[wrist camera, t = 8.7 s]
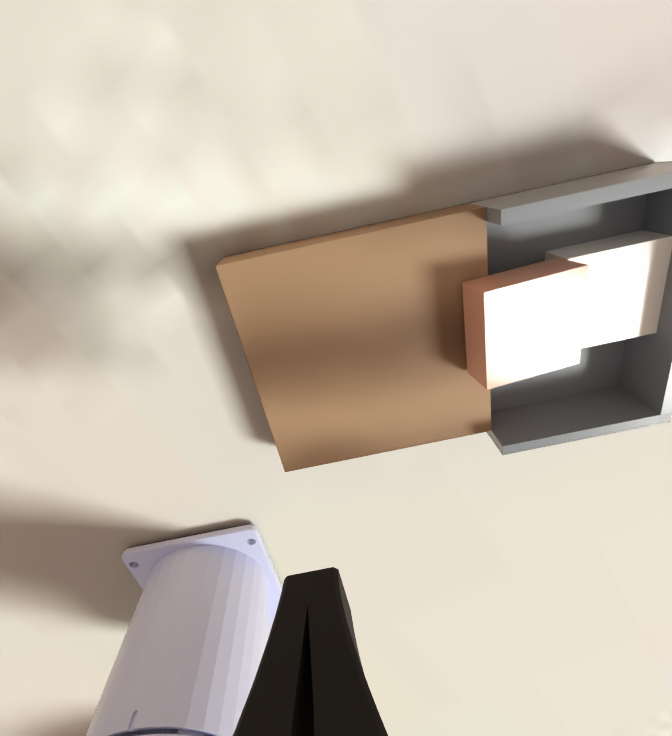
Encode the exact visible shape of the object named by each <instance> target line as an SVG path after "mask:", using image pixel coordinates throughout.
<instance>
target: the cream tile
mask: <svg viewBox="0 0 672 736" xmlns="http://www.w3.org/2000/svg"><path fill="white" fill-rule="evenodd" d="M671 251H672V235H667V234H661V233H655V232H649V231H643V230H640V231H636V232H631V233H627V234H622V235H618V236H613V237H608V238H604V239H599V240H595V241H590V242H585V243H581V244H576V245H572V246H567V247H562V248H558V249H553V250H549V251H545V261H546V260H550V259H554V258H561V259H565V260H570V261H574V262H578V263H582V264H587V265H588V275H587V286H586V297H585V308H584V319H583V330H582V341H581V348H586V347H591V346H596V345H600V344H605V343H610V342H615V341H620V340H624V339H629V338H634V337H639V336H644V335H648V334H653V333H656V332H657V326H658V321H659V315H660V310H661V305H662V299H663V294H664V289H665V283H666V278H667V272H668V267H669V262H670V256H671Z"/></svg>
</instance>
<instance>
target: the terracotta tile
mask: <svg viewBox="0 0 672 736" xmlns="http://www.w3.org/2000/svg"><path fill="white" fill-rule="evenodd" d="M587 275H588V265H587V264H582V263H578V262H574V261H570V260H565V259H561V258H554V259H550V260H546V261H542V262H538V263H535V264H531V265H527V266H523V267H519V268H516V269H512V270H508V271H504V272H500V273H496V274H493V275H489V276H485V277H481V278H477V279H474V280H470V281H466V282H462V289H463V307H464V324H465V342H466V360H467V373H468V374H469V375H471V376H472V377H473V378H474V379H475V380H476V381H477V382H479V383H480V384H481V385H482V386H483V387H484V388H486V389H487V390H488V389H492V388H495V387H499V386H502V385H506V384H509V383H513V382H516V381H520V380H523V379H527V378H530V377H533V376H537V375H540V374H544V373H547V372H551V371H554V370H558V369H561V368H565V367H568V366H572V365H575V364H579V362H580V352H581V341H582V330H583V319H584V308H585V297H586V286H587Z"/></svg>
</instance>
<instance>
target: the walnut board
mask: <svg viewBox="0 0 672 736" xmlns="http://www.w3.org/2000/svg"><path fill="white" fill-rule="evenodd" d="M215 267H216V270H217V273H218V275H219V278H220V281H221V284H222V287H223V290H224V293H225V296H226V299H227V302H228V305H229V308H230V311H231V314H232V317H233V320H234V323H235V326H236V329H237V332H238V335H239V337H240V340H241V343H242V346H243V349H244V352H245V355H246V358H247V361H248V364H249V367H250V370H251V373H252V376H253V379H254V382H255V385H256V388H257V391H258V394H259V396H260V399H261V402H262V405H263V408H264V411H265V414H266V417H267V420H268V423H269V426H270V429H271V432H272V435H273V438H274V441H275V444H276V447H277V450H278V453H279V456H280V458H281V461H282V464H283V467H284V470H285V472H288V471H293V470H298V469H303V468H308V467H313V466H318V465H323V464H328V463H333V462H338V461H343V460H348V459H353V458H358V457H363V456H368V455H373V454H377V453H382V452H387V451H392V450H397V449H402V448H407V447H412V446H417V445H422V444H427V443H432V442H437V441H442V440H447V439H452V438H457V437H462V436H467V435H472V434H477V433H482V432H487V431H491V395H490V389H488V390H487V389H486V388H484V387H483V386H482V385H481V384H480V383H479V382H477V381H476V380H475V379H474V378H473V377H472V376H471V375H469V374H468V373H467V360H466V342H465V324H464V307H463V289H462V282H466V281H470V280H474V279H477V278H481V277H485V276H488V262H487V218H486V207H484V206H479V205H473V204H463V205H459V206H454V207H449V208H445V209H440V210H436V211H431V212H427V213H422V214H418V215H413V216H409V217H404V218H400V219H395V220H390V221H386V222H381V223H377V224H372V225H368V226H363V227H359V228H354V229H350V230H345V231H340V232H336V233H331V234H327V235H322V236H318V237H313V238H309V239H304V240H300V241H295V242H290V243H286V244H281V245H277V246H272V247H268V248H263V249H259V250H254V251H250V252H245V253H240V254H236V255H231V256H227V257H224V258H223V259H222V260H221V261H220V262H219V263H218V264H217V265H216V266H215Z"/></svg>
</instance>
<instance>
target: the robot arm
mask: <svg viewBox="0 0 672 736" xmlns="http://www.w3.org/2000/svg"><path fill="white" fill-rule="evenodd" d="M121 559H122V561H123V562H124V564H125V565H126V567H127V568H128V570H129V571H130V573H131V574H132V575H133V577H134V578H135V580H136V581H137V583H138V584H139V586H140V587H141V589H142V590H143V591H142V594H141V597H140V599H139V602H138V604H137V607H136V609H135V612H134V614H133V617H132V619H131V622H130V624H129V627H128V629H127V632H126V634H125V637H124V640H123V642H122V645H121V647H120V650H119V652H118V655H117V657H116V660H115V662H114V665H113V667H112V670H111V672H110V675H109V677H108V680H107V683H106V685H105V688H104V690H103V693H102V695H101V698H100V700H99V703H98V705H97V708H96V710H95V713H94V715H93V718H92V721H91V723H90V726H89V728H88V731H87V733H86V736H388V734H387V732H386V730H385V727H384V725H383V722H382V720H381V717H380V715H379V712H378V710H377V707H376V705H375V702H374V699H373V697H372V694H371V692H370V689H369V686H368V684H367V681H366V678H365V676H364V672H363V668H362V665H361V661H360V657H359V652H358V648H357V643H356V638H355V634H354V628H353V622H352V616H351V610H350V607H349V603H348V600H347V597H346V594H345V590H344V587H343V584H342V580H341V577H340V574H339V570H338V569H336V568H334V567H332V568H326V569H321V570H316V571H311V572H306V573H300V574H295V575H290V576H287V577H286V578H285V579H284V583H283V588H282V586H281V584H280V581H279V579H278V576H277V574H276V572H275V569H274V567H273V564H272V562H271V560H270V557H269V555H268V552H267V550H266V548H265V545H264V543H263V540H262V538H261V536H260V533H259V531H258V529H257V527H255V526H254V525H244V526H239V527H234V528H229V529H224V530H219V531H213V532H208V533H203V534H198V535H193V536H188V537H183V538H178V539H173V540H168V541H163V542H158V543H153V544H148V545H143V546H138V547H133V548H128V549H126V550H125V551H124V552H123V554H122V557H121Z"/></svg>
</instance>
